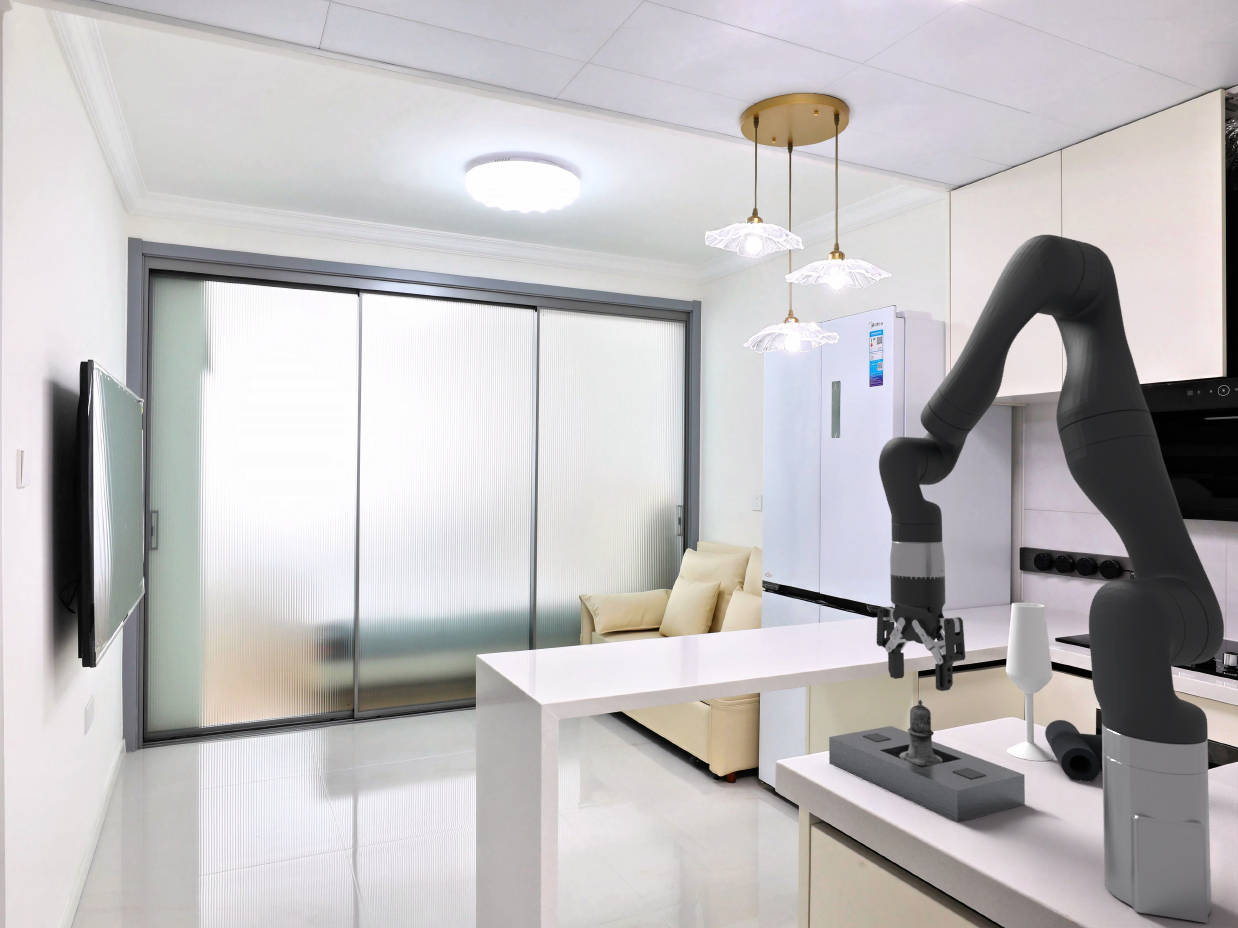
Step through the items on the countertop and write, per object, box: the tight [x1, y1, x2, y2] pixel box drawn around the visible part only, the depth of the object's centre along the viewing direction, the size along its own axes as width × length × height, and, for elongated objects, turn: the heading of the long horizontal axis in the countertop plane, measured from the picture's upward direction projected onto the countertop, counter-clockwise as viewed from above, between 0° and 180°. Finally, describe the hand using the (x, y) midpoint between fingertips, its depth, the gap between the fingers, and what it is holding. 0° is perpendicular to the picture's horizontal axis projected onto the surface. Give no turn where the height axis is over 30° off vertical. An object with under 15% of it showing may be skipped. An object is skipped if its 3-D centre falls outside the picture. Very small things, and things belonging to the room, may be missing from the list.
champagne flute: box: [1005, 602, 1054, 762], centre depth 126 cm, size 7×7×24 cm
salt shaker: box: [899, 699, 943, 767], centre depth 113 cm, size 6×6×12 cm
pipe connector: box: [1044, 719, 1103, 782], centre depth 120 cm, size 12×5×15 cm
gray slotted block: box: [828, 725, 1026, 823], centre depth 113 cm, size 24×13×4 cm, turn 26°
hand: (919, 683), depth 113 cm, fingers open, 8 cm apart
